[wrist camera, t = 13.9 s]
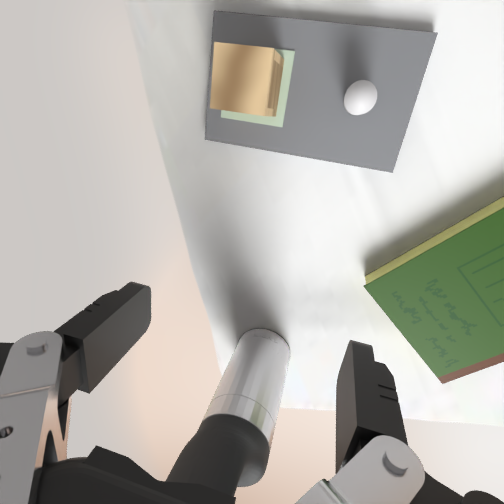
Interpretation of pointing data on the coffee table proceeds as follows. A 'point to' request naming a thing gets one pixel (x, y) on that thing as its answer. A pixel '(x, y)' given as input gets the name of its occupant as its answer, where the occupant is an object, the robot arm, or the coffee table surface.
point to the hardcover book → (450, 295)
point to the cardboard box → (246, 79)
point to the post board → (328, 88)
